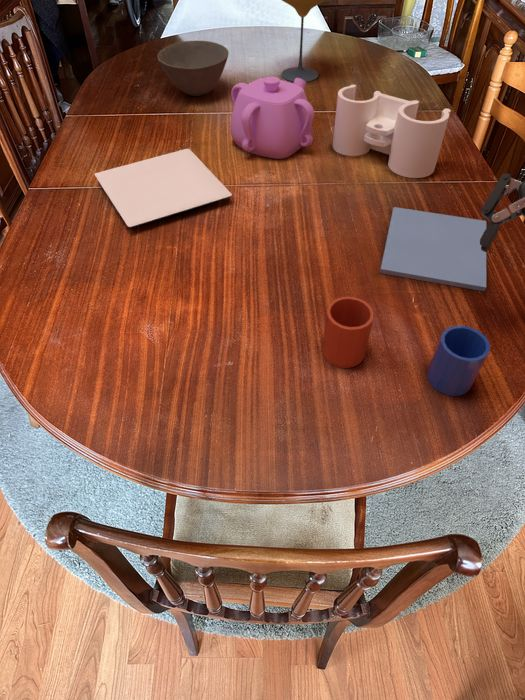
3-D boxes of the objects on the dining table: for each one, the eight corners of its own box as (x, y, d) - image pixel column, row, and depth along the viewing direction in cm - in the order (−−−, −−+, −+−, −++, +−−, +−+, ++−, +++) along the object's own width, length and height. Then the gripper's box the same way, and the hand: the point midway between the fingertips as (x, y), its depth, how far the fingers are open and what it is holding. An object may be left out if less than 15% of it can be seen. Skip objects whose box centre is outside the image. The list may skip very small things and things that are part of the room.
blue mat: (484, 225, 100) (486, 220, 99) (484, 291, 87) (486, 287, 86) (392, 211, 103) (393, 206, 102) (379, 273, 91) (380, 268, 90)
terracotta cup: (367, 340, 80) (376, 301, 74) (361, 372, 76) (370, 333, 69) (326, 332, 81) (331, 293, 75) (318, 362, 77) (322, 324, 71)
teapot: (233, 163, 116) (230, 99, 105) (229, 121, 129) (225, 60, 118) (316, 159, 117) (321, 95, 106) (303, 118, 130) (306, 57, 119)
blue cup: (472, 366, 76) (489, 330, 70) (471, 400, 72) (490, 365, 66) (428, 358, 78) (442, 321, 72) (425, 390, 74) (439, 355, 68)
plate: (233, 203, 105) (232, 194, 104) (130, 235, 98) (128, 226, 97) (189, 155, 118) (188, 147, 117) (96, 181, 111) (93, 172, 110)
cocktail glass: (282, 59, 156) (284, -41, 137) (338, 68, 151) (349, -35, 132) (259, 82, 145) (258, -24, 126) (318, 92, 140) (327, -16, 122)
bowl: (174, 76, 148) (169, 38, 141) (237, 81, 146) (235, 42, 138) (153, 104, 136) (146, 64, 129) (220, 109, 134) (218, 69, 126)
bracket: (324, 150, 119) (328, 97, 110) (344, 134, 125) (350, 82, 115) (422, 183, 110) (436, 128, 101) (440, 164, 115) (455, 110, 106)
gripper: (523, 122, 67) (462, 236, 69) (642, 156, 61) (569, 279, 64) (522, 145, 73) (466, 248, 76) (629, 177, 68) (563, 288, 70)
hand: (513, 262), depth 70 cm, fingers open, 8 cm apart
